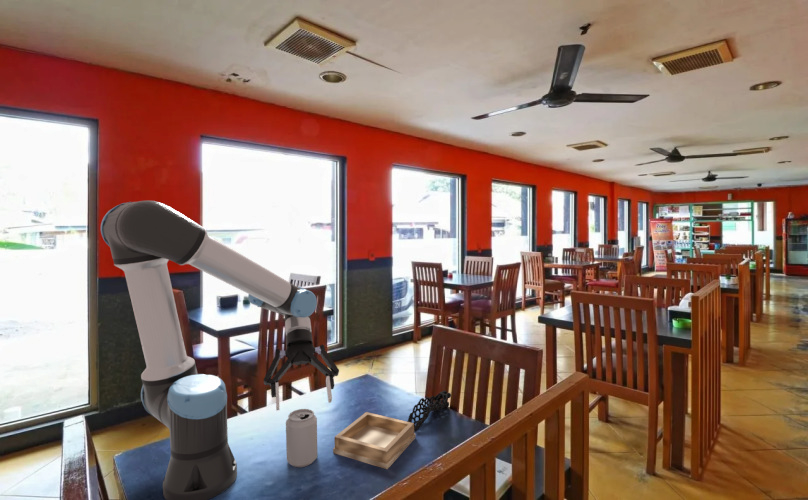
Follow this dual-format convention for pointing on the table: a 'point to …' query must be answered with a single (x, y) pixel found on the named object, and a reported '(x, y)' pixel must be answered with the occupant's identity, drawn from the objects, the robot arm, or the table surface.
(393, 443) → the wooden tray
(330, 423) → the table surface
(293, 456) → the can
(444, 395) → the decorative element
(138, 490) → the table surface
